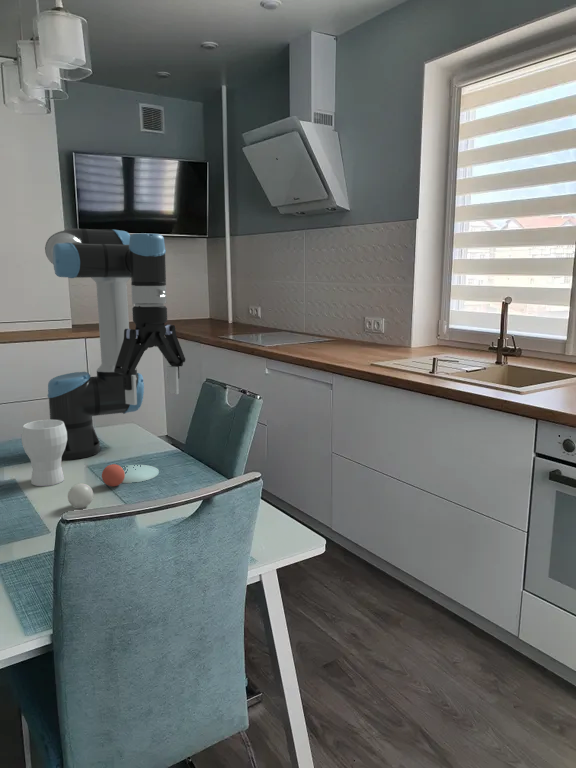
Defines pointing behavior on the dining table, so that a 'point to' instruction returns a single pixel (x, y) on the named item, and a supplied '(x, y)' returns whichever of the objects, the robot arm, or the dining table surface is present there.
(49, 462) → the cup
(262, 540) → the dining table surface
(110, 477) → the object ball
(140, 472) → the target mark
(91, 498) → the cue ball
